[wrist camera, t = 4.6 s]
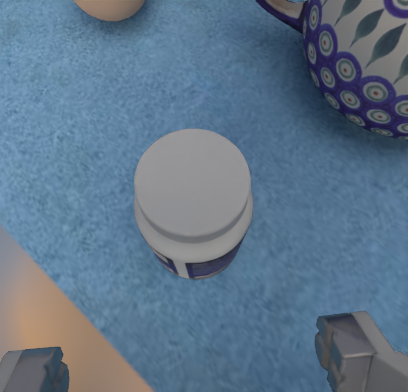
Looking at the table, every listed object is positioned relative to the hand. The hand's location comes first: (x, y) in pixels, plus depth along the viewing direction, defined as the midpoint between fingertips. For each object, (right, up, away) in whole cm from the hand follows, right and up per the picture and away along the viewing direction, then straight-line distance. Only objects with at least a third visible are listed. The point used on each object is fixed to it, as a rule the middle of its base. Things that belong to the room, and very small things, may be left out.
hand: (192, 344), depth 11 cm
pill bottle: (0, +2, +12) cm, 12 cm away
